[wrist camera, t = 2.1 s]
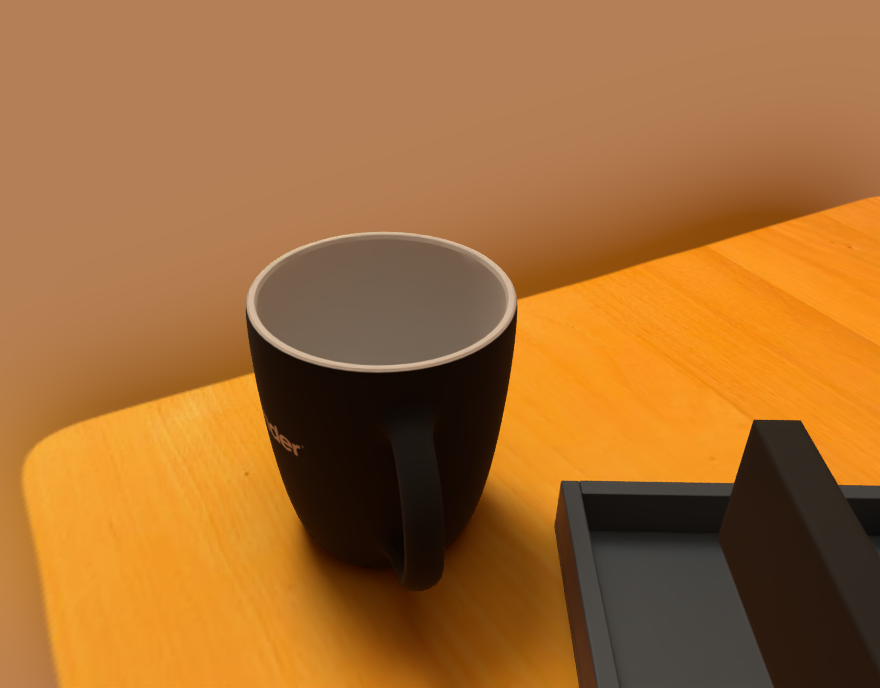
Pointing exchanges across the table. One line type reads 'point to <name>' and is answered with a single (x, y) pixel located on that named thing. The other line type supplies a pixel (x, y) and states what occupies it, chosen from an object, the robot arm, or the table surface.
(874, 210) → the table surface
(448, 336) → the mug
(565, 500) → the tray
